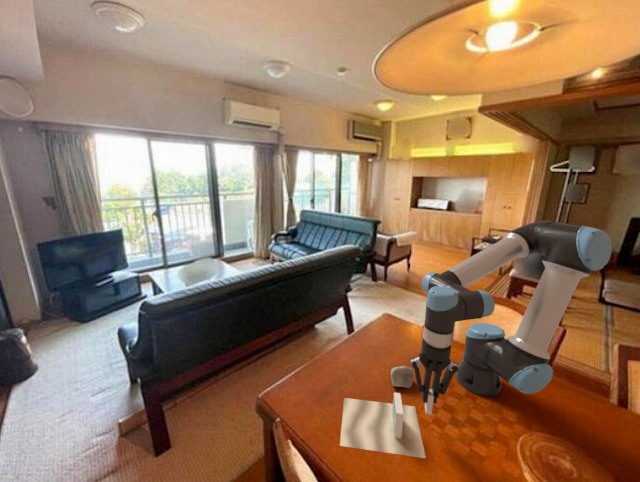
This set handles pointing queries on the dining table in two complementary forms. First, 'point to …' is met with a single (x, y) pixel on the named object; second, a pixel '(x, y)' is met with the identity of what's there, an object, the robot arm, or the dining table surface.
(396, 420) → the tile
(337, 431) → the dining table surface
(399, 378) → the stone
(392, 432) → the cloth
